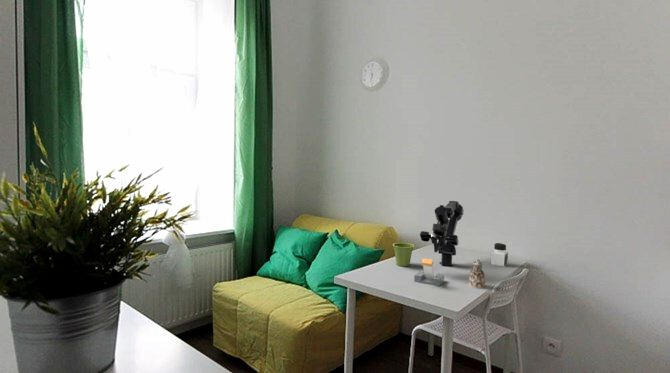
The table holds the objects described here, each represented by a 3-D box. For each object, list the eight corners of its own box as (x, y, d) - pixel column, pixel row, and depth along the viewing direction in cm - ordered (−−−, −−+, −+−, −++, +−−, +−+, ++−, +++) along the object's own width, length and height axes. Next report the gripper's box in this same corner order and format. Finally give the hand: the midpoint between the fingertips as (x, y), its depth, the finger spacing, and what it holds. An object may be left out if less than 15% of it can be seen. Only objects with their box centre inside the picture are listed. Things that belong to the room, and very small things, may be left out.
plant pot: (412, 262, 213) (413, 242, 212) (414, 268, 201) (415, 247, 200) (391, 261, 214) (392, 242, 213) (392, 267, 202) (393, 246, 201)
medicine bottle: (504, 266, 208) (505, 245, 207) (490, 264, 212) (492, 243, 211) (507, 264, 213) (508, 243, 212) (494, 261, 218) (495, 241, 217)
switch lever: (425, 273, 183) (422, 258, 178) (435, 275, 181) (433, 259, 175) (424, 277, 181) (421, 262, 176) (433, 279, 179) (431, 264, 173)
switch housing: (420, 276, 188) (420, 270, 187) (444, 280, 181) (444, 274, 181) (414, 281, 180) (414, 274, 180) (439, 286, 174) (439, 279, 173)
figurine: (466, 286, 175) (467, 260, 174) (470, 282, 181) (471, 257, 180) (482, 289, 171) (484, 263, 170) (486, 285, 177) (487, 260, 176)
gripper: (421, 215, 195) (414, 240, 186) (458, 219, 186) (452, 245, 177) (425, 228, 202) (418, 252, 194) (460, 232, 193) (455, 258, 184)
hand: (435, 251), depth 187 cm, fingers closed
